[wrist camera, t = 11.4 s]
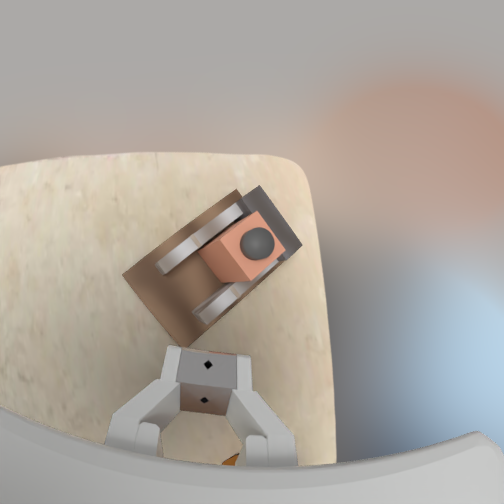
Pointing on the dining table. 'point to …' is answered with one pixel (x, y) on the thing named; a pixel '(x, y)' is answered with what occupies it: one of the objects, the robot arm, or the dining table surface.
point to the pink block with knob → (242, 250)
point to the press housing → (202, 268)
